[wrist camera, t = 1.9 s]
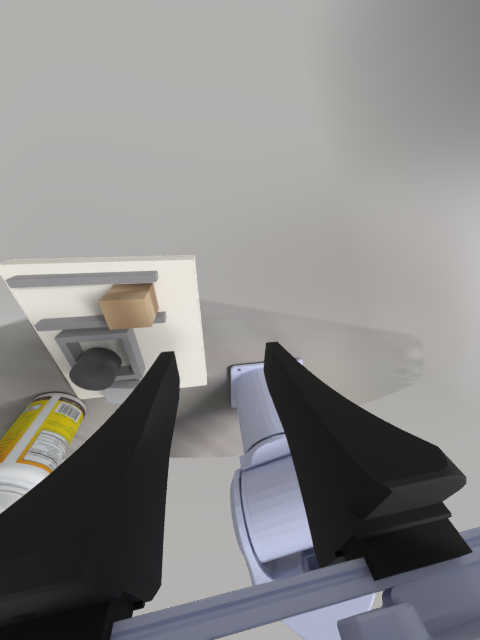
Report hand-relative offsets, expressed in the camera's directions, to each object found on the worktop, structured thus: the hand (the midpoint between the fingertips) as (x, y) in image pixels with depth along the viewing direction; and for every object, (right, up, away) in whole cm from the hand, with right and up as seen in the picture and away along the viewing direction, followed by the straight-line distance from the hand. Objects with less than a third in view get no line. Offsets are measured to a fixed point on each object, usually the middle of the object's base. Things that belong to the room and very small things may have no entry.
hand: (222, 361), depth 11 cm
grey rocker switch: (-11, -5, +10) cm, 16 cm away
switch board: (-10, +1, +10) cm, 14 cm away
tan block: (-8, +4, +7) cm, 11 cm away
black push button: (-12, -2, +8) cm, 14 cm away
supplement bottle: (-21, -8, +14) cm, 26 cm away
